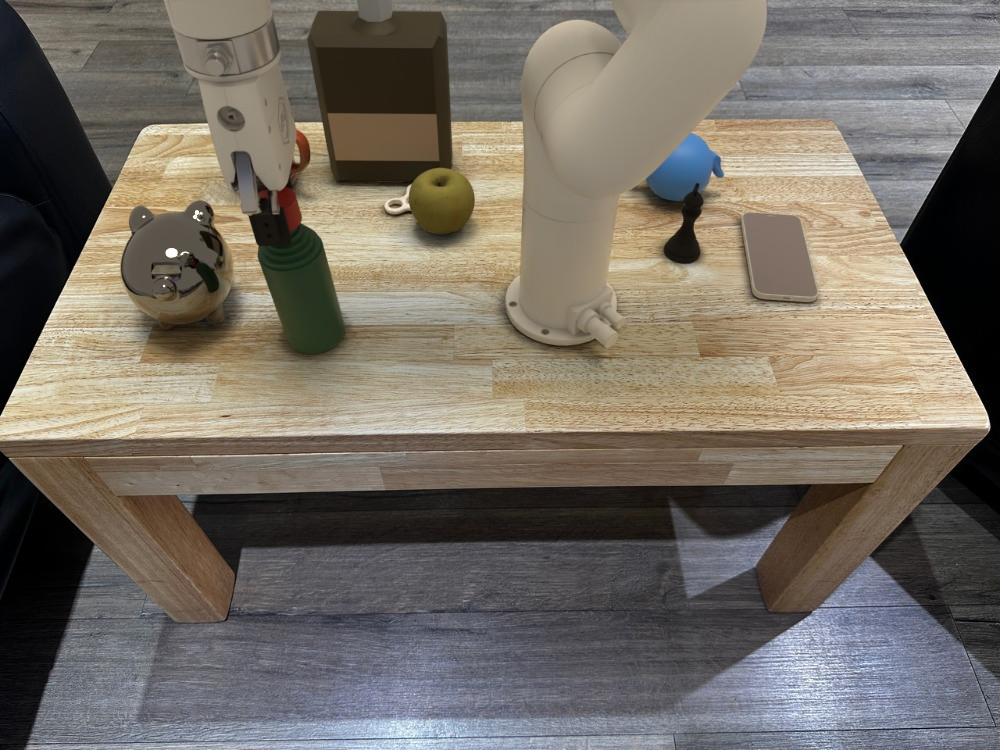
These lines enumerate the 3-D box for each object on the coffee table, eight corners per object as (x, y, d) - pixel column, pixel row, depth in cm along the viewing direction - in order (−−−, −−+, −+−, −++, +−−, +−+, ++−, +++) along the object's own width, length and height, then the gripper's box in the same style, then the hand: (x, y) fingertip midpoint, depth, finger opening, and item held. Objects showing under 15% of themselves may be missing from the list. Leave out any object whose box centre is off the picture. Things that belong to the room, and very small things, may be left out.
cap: (259, 211, 75) (252, 188, 73) (300, 204, 76) (294, 182, 74) (261, 237, 73) (253, 215, 71) (303, 230, 73) (297, 208, 71)
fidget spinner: (441, 215, 100) (441, 210, 99) (393, 227, 98) (392, 222, 98) (424, 184, 104) (423, 179, 103) (377, 195, 102) (376, 190, 102)
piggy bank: (248, 258, 94) (223, 178, 86) (241, 348, 85) (213, 268, 76) (152, 267, 93) (117, 187, 85) (134, 360, 84) (92, 280, 75)
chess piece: (658, 257, 95) (673, 188, 87) (669, 236, 98) (684, 167, 90) (694, 267, 94) (711, 198, 86) (704, 246, 96) (722, 177, 89)
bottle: (338, 151, 109) (306, -37, 90) (453, 152, 109) (445, -36, 90) (330, 186, 104) (294, -7, 85) (450, 187, 104) (441, -6, 85)
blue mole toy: (714, 163, 108) (728, 107, 102) (721, 216, 100) (736, 159, 94) (627, 157, 109) (635, 101, 102) (626, 210, 101) (635, 153, 95)
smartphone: (754, 293, 90) (740, 211, 99) (752, 299, 90) (738, 217, 100) (820, 298, 89) (800, 215, 99) (817, 303, 90) (798, 220, 100)
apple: (404, 211, 100) (401, 165, 94) (464, 200, 102) (465, 154, 96) (419, 251, 95) (416, 205, 90) (481, 239, 97) (483, 193, 92)
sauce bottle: (356, 334, 86) (323, 206, 72) (305, 363, 83) (261, 236, 70) (326, 303, 89) (289, 174, 76) (276, 330, 87) (229, 202, 73)
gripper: (262, 95, 56) (308, 286, 70) (289, -8, 67) (325, 175, 80) (154, 98, 55) (223, 289, 69) (200, -6, 66) (251, 177, 80)
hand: (277, 226), depth 75 cm, fingers closed on cap, 3 cm apart
